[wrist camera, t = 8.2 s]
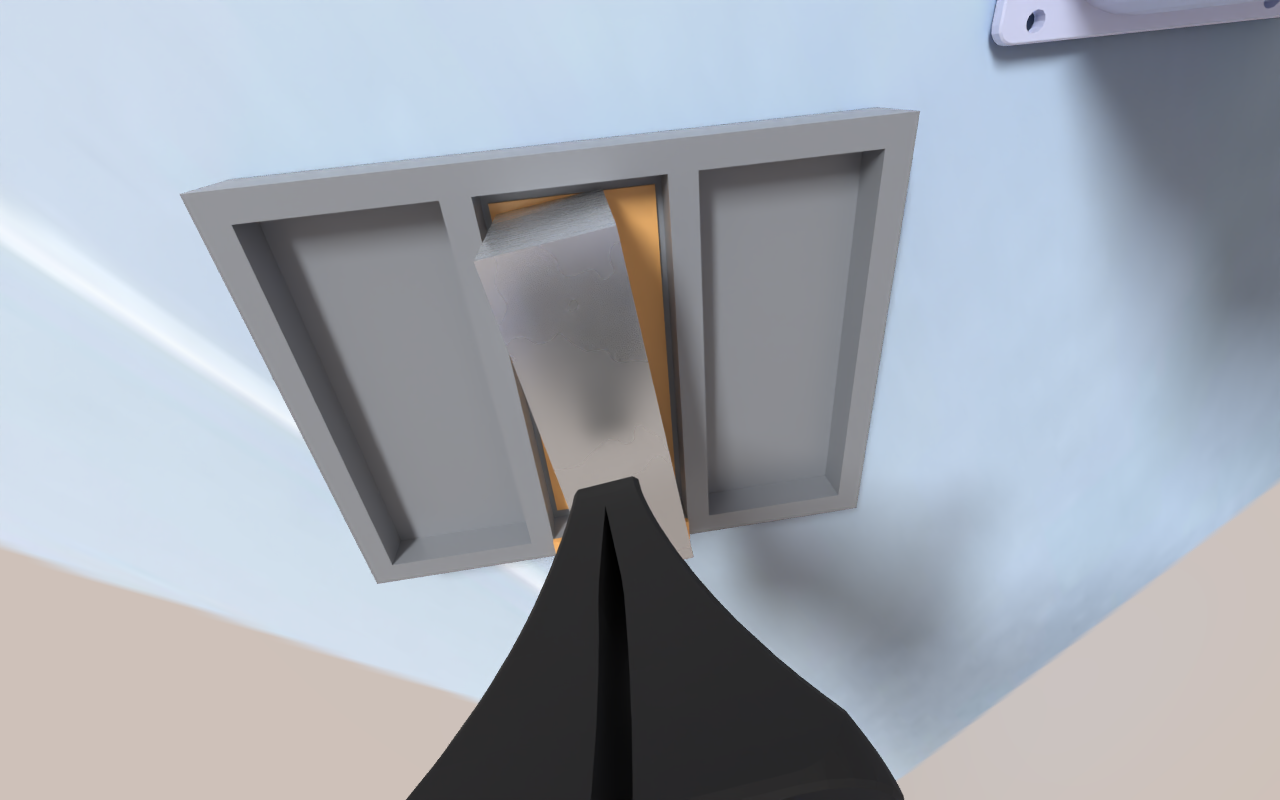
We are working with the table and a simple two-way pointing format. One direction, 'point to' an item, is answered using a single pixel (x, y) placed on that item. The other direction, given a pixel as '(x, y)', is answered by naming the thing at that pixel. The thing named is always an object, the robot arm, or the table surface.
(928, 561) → the table surface
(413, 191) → the bay rack
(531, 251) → the light grey rectangular block
